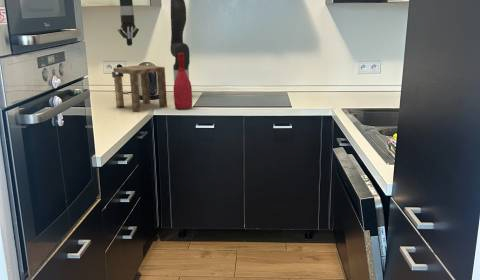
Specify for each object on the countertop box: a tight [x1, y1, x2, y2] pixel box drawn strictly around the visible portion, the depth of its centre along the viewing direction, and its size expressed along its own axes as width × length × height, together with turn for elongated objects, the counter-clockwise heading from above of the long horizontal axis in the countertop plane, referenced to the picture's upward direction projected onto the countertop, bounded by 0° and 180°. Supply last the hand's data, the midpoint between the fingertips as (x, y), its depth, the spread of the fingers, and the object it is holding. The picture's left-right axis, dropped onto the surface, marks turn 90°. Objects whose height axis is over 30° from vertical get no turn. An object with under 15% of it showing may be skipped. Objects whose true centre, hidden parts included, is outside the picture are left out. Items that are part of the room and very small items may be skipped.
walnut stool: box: [111, 64, 168, 113], centre depth 264 cm, size 21×20×22 cm
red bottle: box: [173, 53, 193, 110], centre depth 259 cm, size 10×10×30 cm
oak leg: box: [113, 73, 125, 109], centre depth 266 cm, size 3×3×18 cm
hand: (129, 45), depth 276 cm, fingers closed
